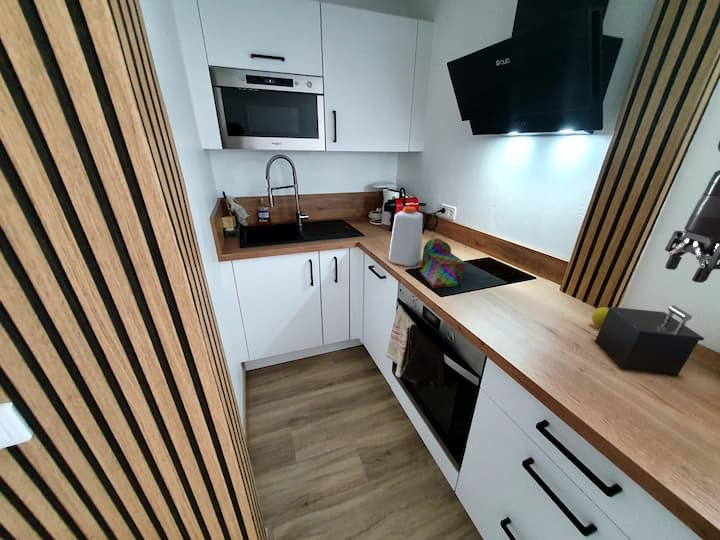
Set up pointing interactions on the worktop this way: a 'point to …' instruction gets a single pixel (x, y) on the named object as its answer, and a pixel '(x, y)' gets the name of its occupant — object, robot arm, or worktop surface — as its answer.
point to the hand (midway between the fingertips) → (683, 275)
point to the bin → (642, 348)
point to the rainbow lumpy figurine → (441, 264)
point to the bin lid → (658, 322)
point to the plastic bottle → (406, 237)
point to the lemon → (599, 316)
